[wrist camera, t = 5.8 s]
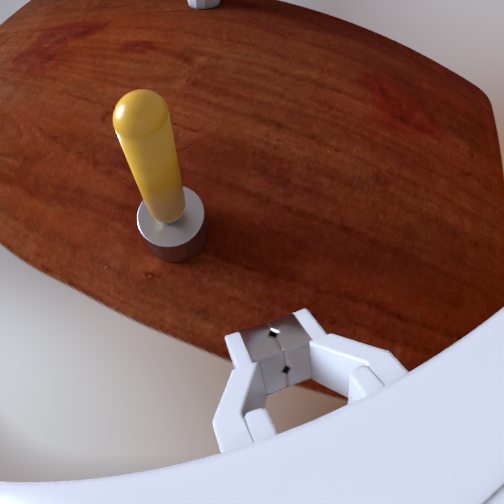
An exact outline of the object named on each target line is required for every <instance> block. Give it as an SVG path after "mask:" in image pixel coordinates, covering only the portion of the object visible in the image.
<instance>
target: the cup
mask: <svg viewBox="0 0 504 504" xmlns="http://www.w3.org/2000/svg"><path fill="white" fill-rule="evenodd" d="M219 3H220V0H188V4H189V6H190V7H192V8H195V9H209V8H213V7H216V6H218V5H219Z"/></svg>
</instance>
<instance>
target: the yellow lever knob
mask: <svg viewBox="0 0 504 504" xmlns="http://www.w3.org/2000/svg"><path fill="white" fill-rule="evenodd" d="M113 125H114V128H115V131H116V134H117V136H118V139H119V141H120V144H121V146H122V149H123V151H124V154H125V156H126V159H127V161H128V164H129V166H130V168H131V171H132V173H133V176H134V178H135V180H136V183H137V185H138V187H139V190H140V192H141V194H142V197H143V199H144V200H143V201H142V203H141V205H140V207H139V210H138V214H137V223H138V227H139V230H140V232H141V234H142V236H143V237H144V239H145V241H146V242H147V244H148V246H149V247H150V249H151V251H152V252H153V253H154V254H155V255H156V256H157V257H158V258H160V259H162V260H164V261H167V262H172V263H178V262H184V261H187V260H189V259H191V258H193V257H194V256H195V255H196V254H198V253H199V251H200V250H201V249H202V247H203V245H204V243H205V240H206V235H207V231H206V222H205V213H204V207H203V203H202V201H201V199H200V198H199V197H198V195H197V194H196V193H195V192H193V191H192V190H190V189H189V188H187V187H184V186H182V181H181V175H180V170H179V165H178V160H177V154H176V149H175V144H174V138H173V132H172V127H171V121H170V115H169V110H168V107H167V104H166V102H165V101H164V99H163V98H162V97H161V96H160V95H159V94H157V93H156V92H154V91H151V90H146V89H140V90H135V91H132V92H130V93H128V94H126V95H125V96H124V97H122V98H121V100H120V101H119V102H118V104H117V105H116V107H115V110H114V113H113Z"/></svg>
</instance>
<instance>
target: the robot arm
mask: <svg viewBox="0 0 504 504" xmlns="http://www.w3.org/2000/svg"><path fill="white" fill-rule="evenodd" d="M225 340H226V343H227V347H228V350H229V353H230V356H231V359H232V362H233V365H234V368H235V369H234V370H232V373H231V375H230V378H229V381H228V383H227V386H226V388H225V391H224V393H223V396H222V398H221V401H220V404H219V406H218V409H217V411H216V414H215V416H214V419H213V421H212V424H213V427H214V431H215V434H216V438H217V441H218V444H219V448H220V451H221V453H219V454H216V455H212V456H209V457H205V458H201V459H197V460H193V461H189V462H185V463H181V464H177V465H173V466H168V467H163V468H158V469H153V470H148V471H143V472H137V473H131V474H125V475H117V476H110V477H102V478H94V479H84V480H72V481H55V482H4V481H0V504H504V307H503V308H502V309H501V310H499V311H498V312H497V313H495V314H494V315H493V316H492V317H490V318H489V319H488V320H486V321H485V322H484V323H482V324H481V325H480V326H478V327H477V328H476V329H474V330H473V331H472V332H470V333H469V334H467V335H466V336H464V337H463V338H462V339H460V340H459V341H457V342H456V343H454V344H453V345H451V346H450V347H448V348H447V349H445V350H444V351H442V352H441V353H439V354H438V355H436V356H435V357H433V358H431V359H430V360H428V361H427V362H425V363H423V364H422V365H420V366H418V367H417V368H415V369H413V370H412V371H410V372H408V371H407V370H406V369H405V368H404V367H403V366H402V364H401V363H400V362H399V361H398V360H397V359H396V358H395V357H394V356H393V355H392V354H391V353H390V351H387V350H384V349H380V348H377V347H374V346H370V345H367V344H364V343H361V342H357V341H354V340H351V339H348V338H345V337H342V336H338V335H335V334H332V333H331V334H328V335H327V333H326V332H325V331H324V330H323V328H322V327H321V326H320V325H319V323H318V322H317V321H316V320H315V318H314V317H313V316H312V315H311V313H310V312H309V311H308V310H307V309H305V308H304V309H302V310H299V311H297V312H294V313H292V314H290V315H287V316H284V317H281V318H279V319H276V320H273V321H270V322H267V323H265V324H261V325H258V326H255V327H252V328H249V329H246V330H242V331H239V332H237V333H233V334H230V335H227V336H225ZM311 378H312V380H314V381H316V382H318V383H320V384H322V385H324V386H326V387H328V388H330V389H332V390H334V391H336V392H338V393H340V394H342V395H344V396H346V397H348V405H346V406H344V407H342V408H340V409H337V410H335V411H333V412H331V413H329V414H326V415H324V416H322V417H320V418H317V419H315V420H312V421H310V422H308V423H305V424H303V425H300V426H298V427H295V428H293V429H290V430H288V431H285V432H282V433H280V434H278V433H277V431H276V429H275V427H274V425H273V423H272V421H271V418H270V416H269V414H268V412H267V410H266V409H264V408H265V404H266V399H267V395H269V394H272V393H275V392H277V391H280V390H282V389H284V388H287V387H289V386H292V385H295V384H298V383H300V382H303V381H306V380H308V379H311Z"/></svg>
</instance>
